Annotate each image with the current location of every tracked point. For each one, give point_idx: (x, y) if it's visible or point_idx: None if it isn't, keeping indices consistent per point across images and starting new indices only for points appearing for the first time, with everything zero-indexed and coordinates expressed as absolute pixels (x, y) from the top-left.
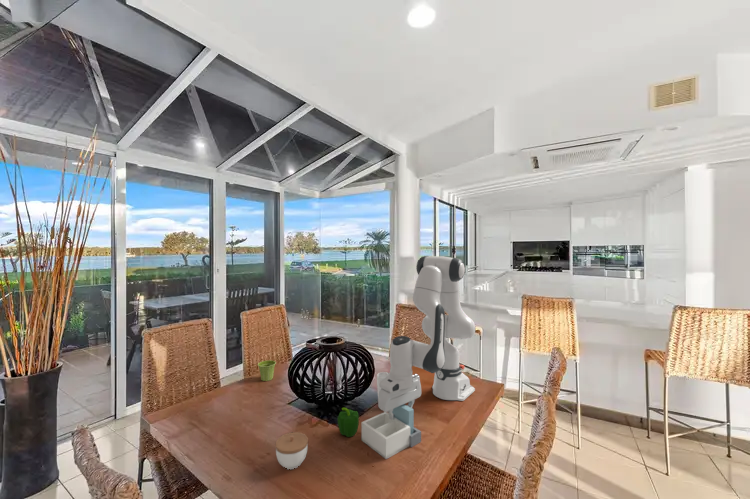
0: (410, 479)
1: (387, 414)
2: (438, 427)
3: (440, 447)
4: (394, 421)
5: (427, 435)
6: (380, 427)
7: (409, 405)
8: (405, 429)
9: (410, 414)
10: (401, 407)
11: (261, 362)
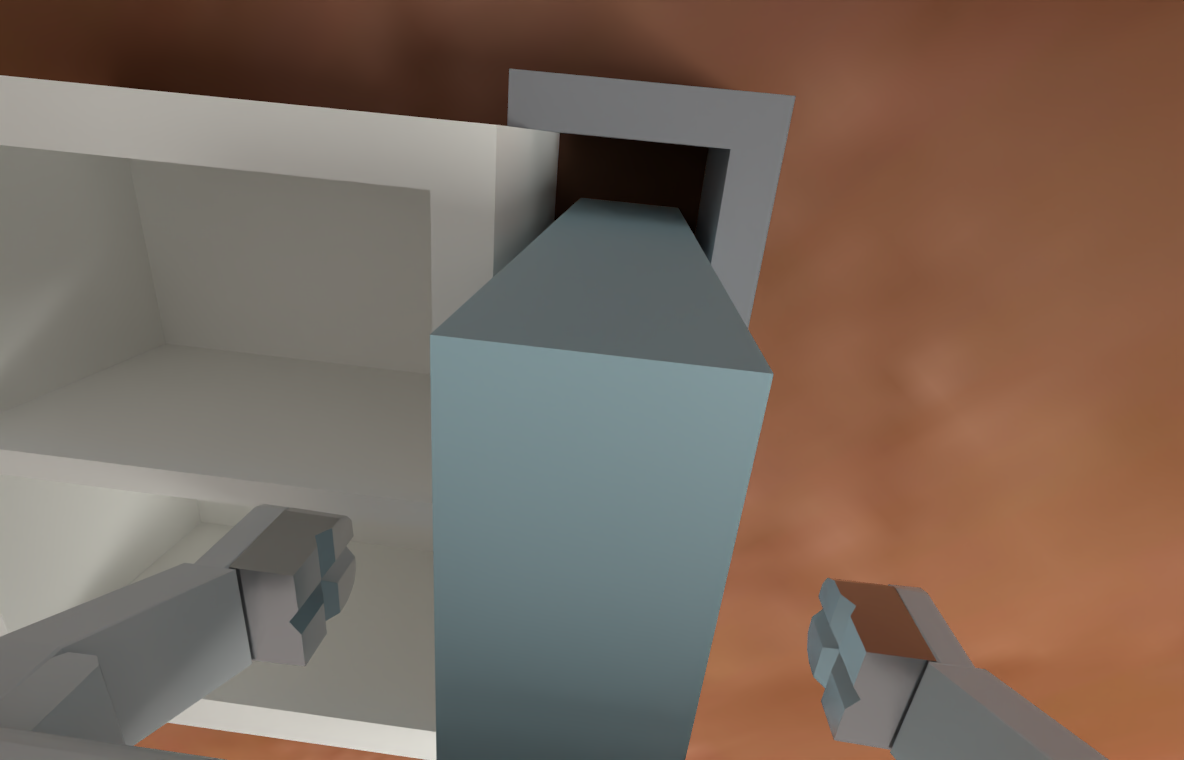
0: (235, 750)
1: (451, 264)
2: (1052, 610)
3: (715, 749)
4: (398, 519)
5: (814, 599)
6: (49, 477)
7: (917, 715)
8: (374, 750)
9: None
10: None
11: None
